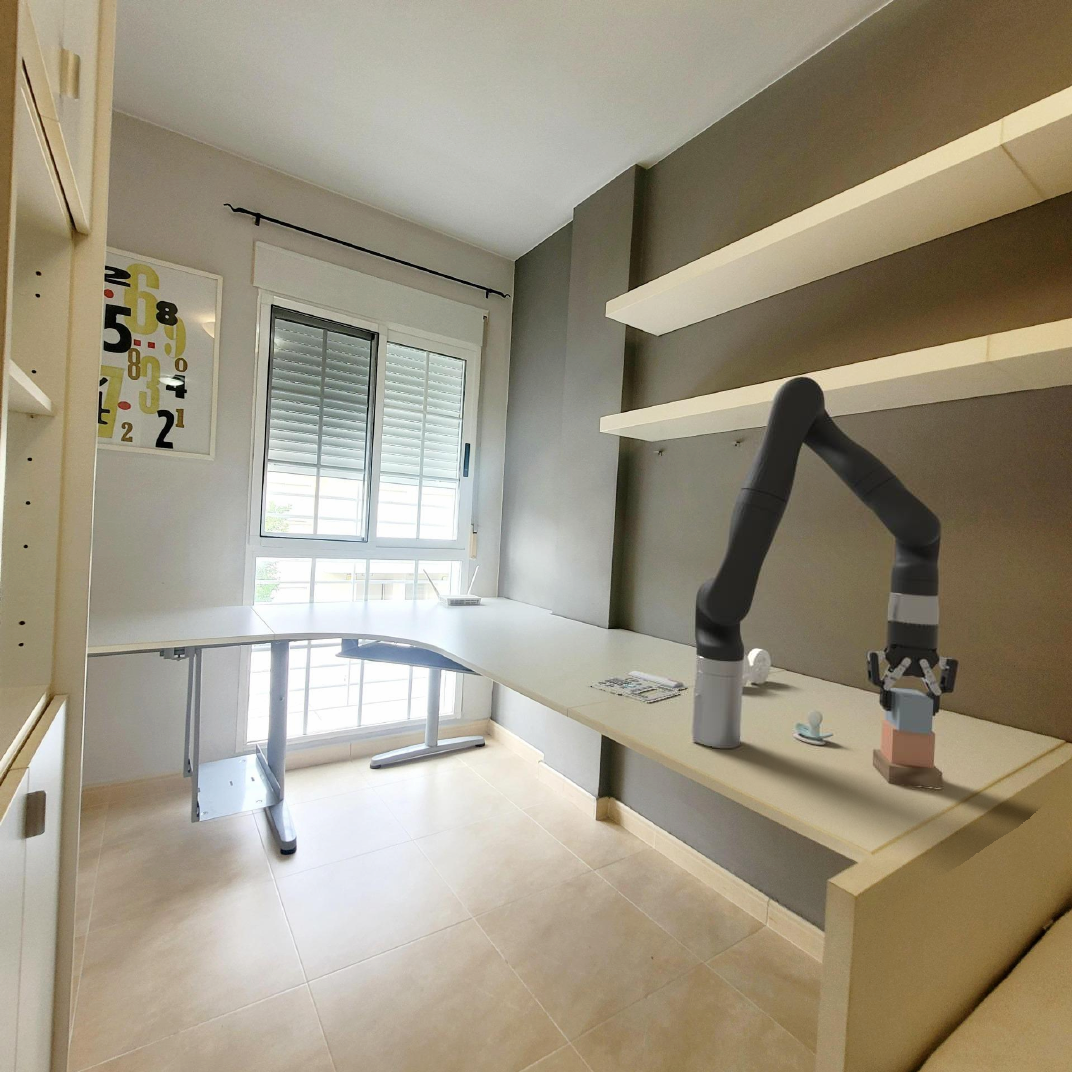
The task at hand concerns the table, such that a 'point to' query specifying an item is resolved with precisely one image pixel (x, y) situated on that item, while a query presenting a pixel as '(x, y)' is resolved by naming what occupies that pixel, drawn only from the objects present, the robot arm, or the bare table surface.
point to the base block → (906, 772)
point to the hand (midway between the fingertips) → (908, 712)
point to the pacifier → (811, 729)
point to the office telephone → (640, 687)
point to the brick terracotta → (907, 746)
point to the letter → (756, 666)
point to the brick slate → (911, 711)
